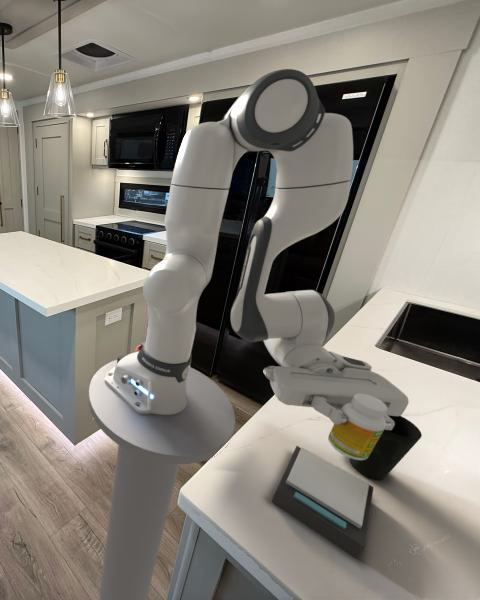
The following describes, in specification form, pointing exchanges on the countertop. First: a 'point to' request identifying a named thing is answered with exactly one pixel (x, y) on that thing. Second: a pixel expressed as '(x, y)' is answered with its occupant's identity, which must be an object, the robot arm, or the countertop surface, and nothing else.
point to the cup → (388, 449)
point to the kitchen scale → (326, 500)
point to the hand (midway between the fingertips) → (365, 424)
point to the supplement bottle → (359, 427)
